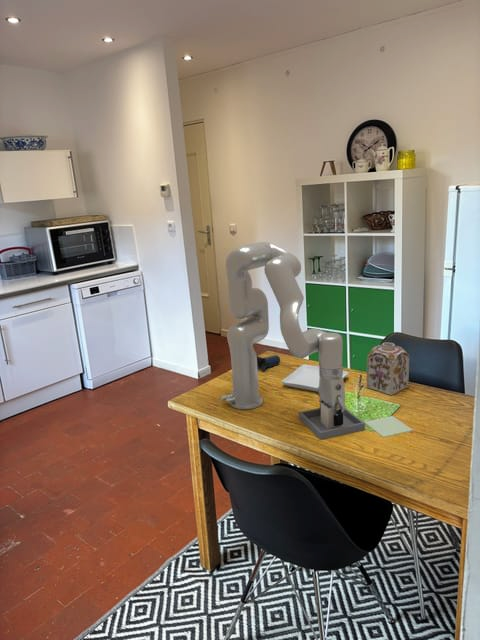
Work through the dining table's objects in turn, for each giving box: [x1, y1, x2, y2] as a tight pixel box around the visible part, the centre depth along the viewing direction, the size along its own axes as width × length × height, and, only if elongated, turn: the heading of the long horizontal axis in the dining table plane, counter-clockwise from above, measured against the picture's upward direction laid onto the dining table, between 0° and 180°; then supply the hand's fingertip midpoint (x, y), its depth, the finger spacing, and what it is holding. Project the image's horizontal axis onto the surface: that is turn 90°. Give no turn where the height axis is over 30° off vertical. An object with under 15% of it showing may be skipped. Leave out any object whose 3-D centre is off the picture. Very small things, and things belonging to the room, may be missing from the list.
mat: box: [363, 415, 414, 438], centre depth 161 cm, size 11×11×1 cm
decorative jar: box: [366, 341, 410, 396], centre depth 189 cm, size 12×12×18 cm
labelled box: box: [321, 402, 341, 429], centre depth 163 cm, size 5×5×7 cm
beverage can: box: [256, 354, 281, 373], centre depth 220 cm, size 9×8×12 cm
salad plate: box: [281, 363, 350, 393], centre depth 200 cm, size 21×21×3 cm
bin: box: [298, 407, 366, 441], centre depth 164 cm, size 16×16×3 cm
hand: (331, 419), depth 164 cm, fingers open, 9 cm apart
